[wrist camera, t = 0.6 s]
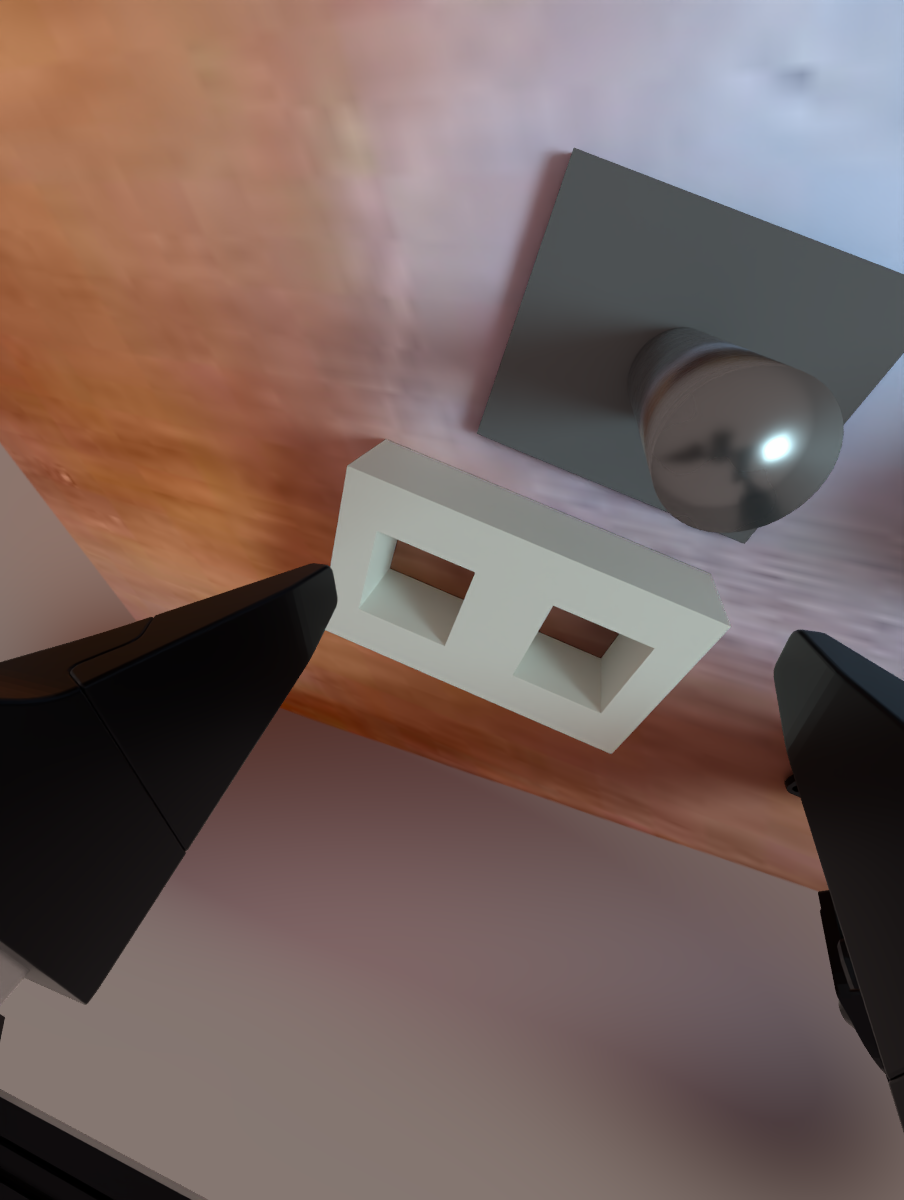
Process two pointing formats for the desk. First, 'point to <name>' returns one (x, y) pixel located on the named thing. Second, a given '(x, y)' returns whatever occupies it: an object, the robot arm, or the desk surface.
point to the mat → (672, 315)
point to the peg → (730, 430)
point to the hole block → (515, 597)
